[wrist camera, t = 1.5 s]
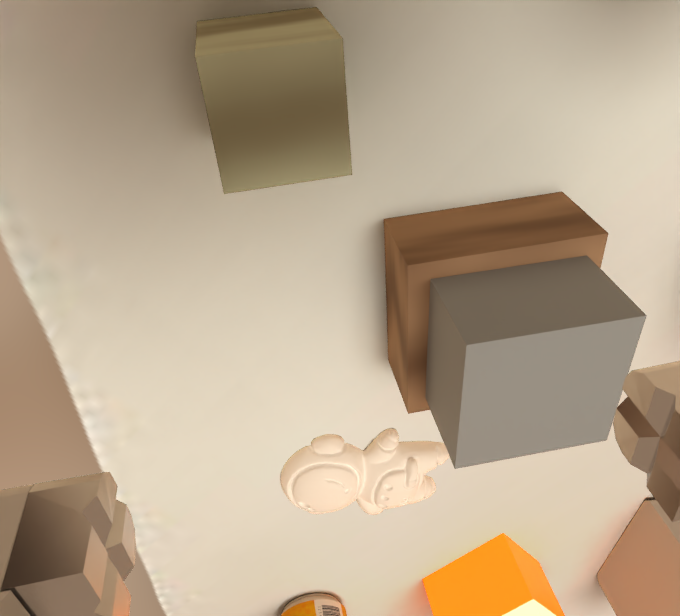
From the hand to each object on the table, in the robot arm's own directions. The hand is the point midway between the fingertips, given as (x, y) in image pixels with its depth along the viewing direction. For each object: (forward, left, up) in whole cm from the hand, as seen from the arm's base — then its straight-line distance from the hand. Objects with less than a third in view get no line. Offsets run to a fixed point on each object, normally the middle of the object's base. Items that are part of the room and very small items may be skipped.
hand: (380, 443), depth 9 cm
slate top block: (+13, +10, -17) cm, 23 cm away
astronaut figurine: (+28, +3, -22) cm, 36 cm away
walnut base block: (+13, +10, -22) cm, 27 cm away
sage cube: (0, 0, -21) cm, 21 cm away
